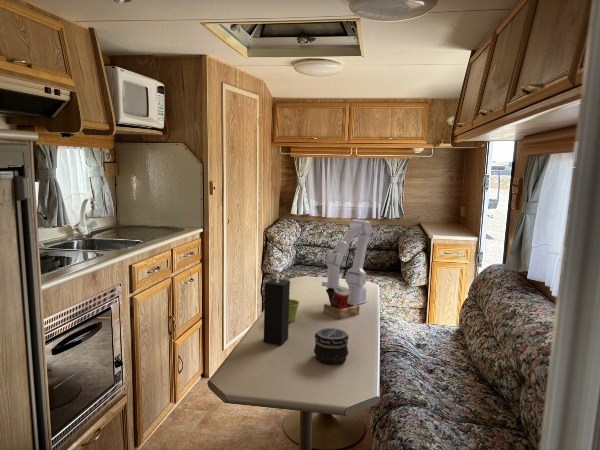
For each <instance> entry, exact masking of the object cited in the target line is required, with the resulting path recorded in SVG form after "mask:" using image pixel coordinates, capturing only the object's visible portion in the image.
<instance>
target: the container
mask: <svg viewBox="0 0 600 450" xmlns="http://www.w3.org/2000/svg"><path fill="white" fill-rule="evenodd" d="M314 342H315V345H314V348H313V353H314V354H315V359H316V361H318V362H320V363H321V364H324V365H328V366H337V365H341V364H344V363H345V362H346V360H347V356H348V355H349V349H348V343H349V335H348V333H347V332H346V331H345V330H343V329H340V328H333V327H326V328H324V327H323V328H321V329H318V330H317V331H316V333H315V334H314Z"/></svg>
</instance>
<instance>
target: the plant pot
mask: <svg viewBox="0 0 600 450" xmlns="http://www.w3.org/2000/svg"><path fill="white" fill-rule="evenodd" d="M299 305H300V301H298V300H296V299H292V298H291V299H290V298H289V323H294V322H295V321H296V319H297V318H296V317H297V312H298V307H299Z"/></svg>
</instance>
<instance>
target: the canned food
mask: <svg viewBox="0 0 600 450" xmlns="http://www.w3.org/2000/svg"><path fill="white" fill-rule="evenodd" d="M342 287H343V288H345V291H343V292H341V291H340V290H338V289H336V288H338V287H336V288H335V289H334V293H333V297H332V301H331V303H330V304H329V305H330V306H333V307H335V308H338V309H340V310H341V309H345V308H346V305H347V301H348V298H349V294H350V291H349V290H348V288H347V287H344V286H342Z"/></svg>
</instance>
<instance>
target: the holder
mask: <svg viewBox="0 0 600 450" xmlns="http://www.w3.org/2000/svg"><path fill="white" fill-rule="evenodd" d="M330 305H331V304H327V303H326V304H325V303H324V304H323V313H324V314H327V315H329V316H332V317H333V318H336V319H339V320H343V319H346V318H350V317H353V316H356V315H359V314H360V306H359V304H357V305H355V304H352V303H349V302H347V305H346V308H345V309H341V310H340V309H338V308H335V307H333V306H330Z"/></svg>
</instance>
